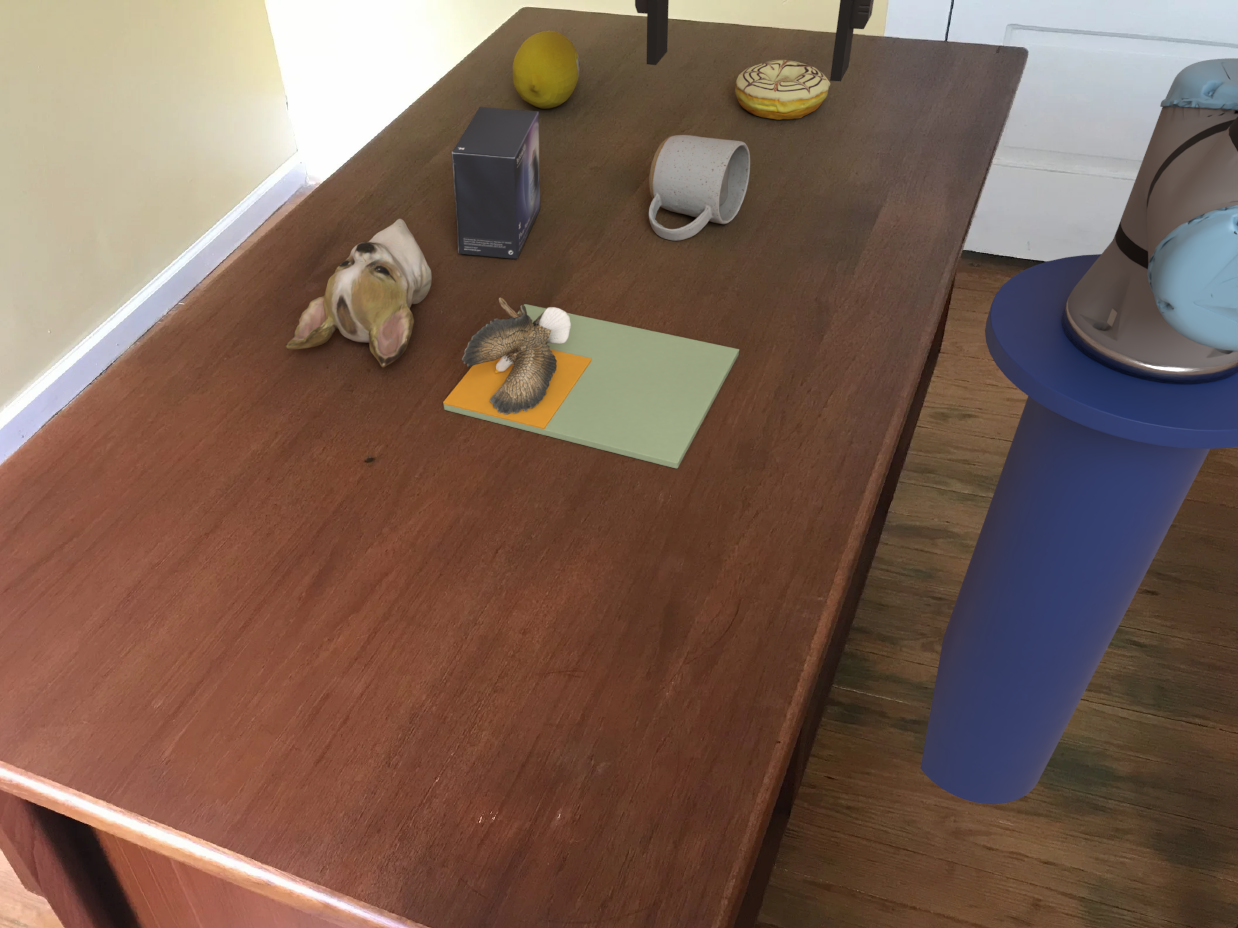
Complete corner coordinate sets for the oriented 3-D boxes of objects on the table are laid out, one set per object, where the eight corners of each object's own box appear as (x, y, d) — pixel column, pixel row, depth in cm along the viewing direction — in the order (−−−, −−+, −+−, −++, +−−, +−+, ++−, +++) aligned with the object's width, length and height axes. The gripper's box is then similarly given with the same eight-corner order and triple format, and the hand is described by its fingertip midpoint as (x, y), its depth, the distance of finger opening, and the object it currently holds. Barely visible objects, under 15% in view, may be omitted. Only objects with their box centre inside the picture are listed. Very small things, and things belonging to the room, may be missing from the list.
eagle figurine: (475, 331, 94) (441, 375, 87) (519, 269, 90) (487, 309, 83) (546, 385, 95) (518, 433, 88) (593, 325, 91) (567, 370, 84)
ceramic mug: (674, 187, 115) (678, 115, 110) (748, 203, 112) (755, 130, 106) (628, 234, 109) (630, 160, 103) (704, 253, 106) (710, 178, 100)
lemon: (562, 125, 127) (561, 54, 122) (500, 117, 130) (496, 47, 124) (594, 88, 134) (594, 20, 128) (535, 81, 136) (532, 13, 131)
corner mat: (738, 355, 93) (739, 347, 93) (677, 469, 83) (677, 461, 83) (524, 309, 100) (524, 301, 100) (443, 410, 90) (443, 402, 89)
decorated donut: (832, 90, 130) (837, 58, 128) (818, 128, 123) (824, 95, 121) (744, 82, 133) (748, 50, 130) (726, 119, 126) (729, 86, 123)
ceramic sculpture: (453, 209, 96) (379, 309, 87) (464, 293, 102) (396, 394, 93) (345, 194, 99) (262, 289, 90) (362, 276, 105) (286, 373, 96)
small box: (521, 261, 106) (517, 157, 99) (456, 256, 107) (447, 153, 100) (544, 208, 113) (541, 108, 106) (483, 204, 115) (476, 104, 107)
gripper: (557, -279, 68) (568, 70, 83) (984, -288, 60) (912, 102, 74) (599, -300, 73) (603, 34, 87) (1000, -311, 64) (930, 60, 79)
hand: (745, 66), depth 81 cm, fingers open, 13 cm apart
